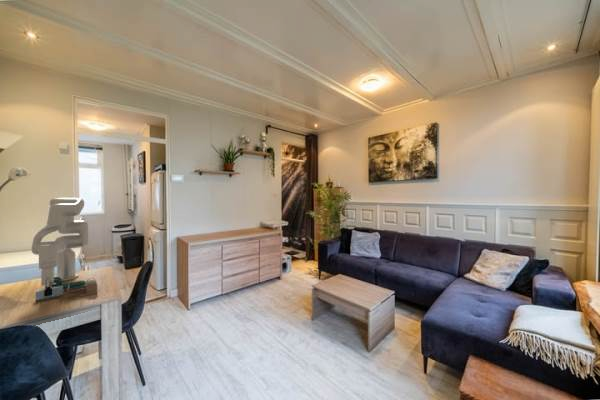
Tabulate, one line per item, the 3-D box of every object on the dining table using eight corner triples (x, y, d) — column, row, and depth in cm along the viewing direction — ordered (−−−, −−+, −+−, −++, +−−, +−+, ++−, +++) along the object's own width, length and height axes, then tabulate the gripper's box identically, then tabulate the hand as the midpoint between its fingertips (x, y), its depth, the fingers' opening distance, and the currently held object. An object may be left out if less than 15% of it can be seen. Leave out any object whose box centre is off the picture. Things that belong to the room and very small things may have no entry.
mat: (38, 298, 137) (38, 297, 137) (58, 294, 143) (58, 293, 143) (38, 302, 132) (38, 301, 132) (58, 297, 138) (58, 296, 138)
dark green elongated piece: (46, 293, 143) (46, 281, 143) (47, 290, 148) (46, 278, 148) (85, 285, 156) (85, 274, 156) (84, 282, 161) (84, 271, 161)
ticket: (36, 298, 134) (36, 290, 134) (63, 293, 142) (62, 285, 142) (35, 300, 133) (35, 291, 132) (63, 294, 141) (62, 286, 140)
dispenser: (67, 295, 141) (67, 281, 141) (95, 289, 150) (95, 276, 150) (68, 299, 135) (67, 285, 135) (97, 293, 145) (97, 279, 145)
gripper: (39, 262, 139) (39, 292, 140) (37, 269, 128) (38, 301, 129) (57, 260, 145) (57, 289, 145) (57, 266, 134) (57, 297, 134)
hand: (48, 294), depth 137 cm, fingers closed on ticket, 2 cm apart
